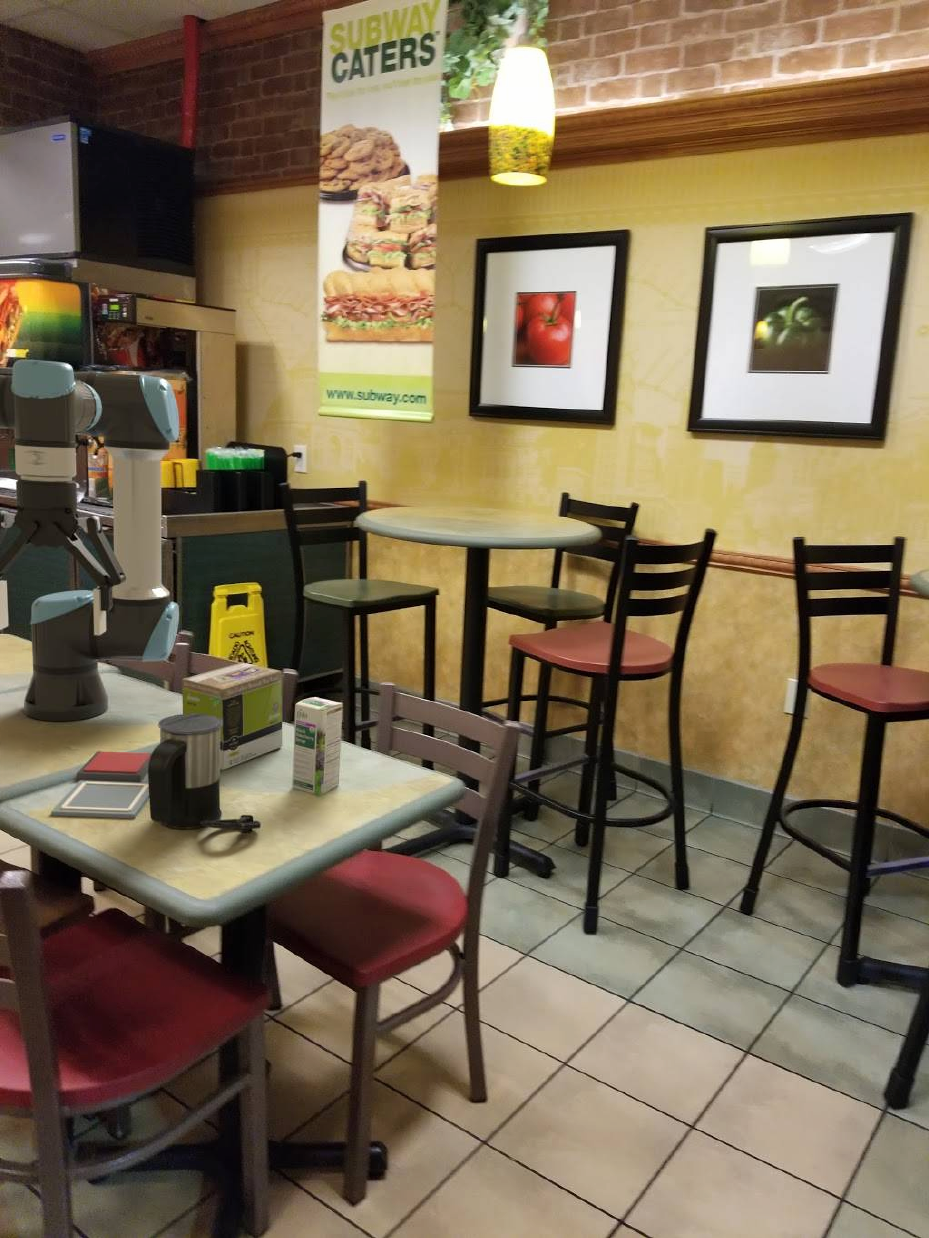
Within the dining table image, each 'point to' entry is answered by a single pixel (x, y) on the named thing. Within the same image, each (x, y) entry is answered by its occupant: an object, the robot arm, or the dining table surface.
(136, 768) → the ink pad
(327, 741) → the syrup box
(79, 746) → the dining table surface
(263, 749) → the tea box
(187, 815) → the milk frother
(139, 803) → the marked board
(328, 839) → the dining table surface
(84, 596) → the robot arm
